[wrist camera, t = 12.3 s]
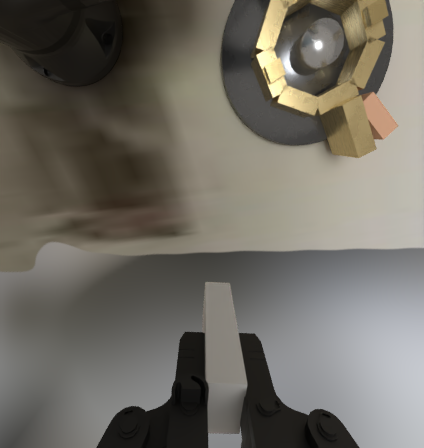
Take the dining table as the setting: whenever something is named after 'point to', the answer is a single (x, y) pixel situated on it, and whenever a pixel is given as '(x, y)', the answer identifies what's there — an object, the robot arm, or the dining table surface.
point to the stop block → (378, 116)
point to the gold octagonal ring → (347, 82)
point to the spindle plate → (291, 66)
